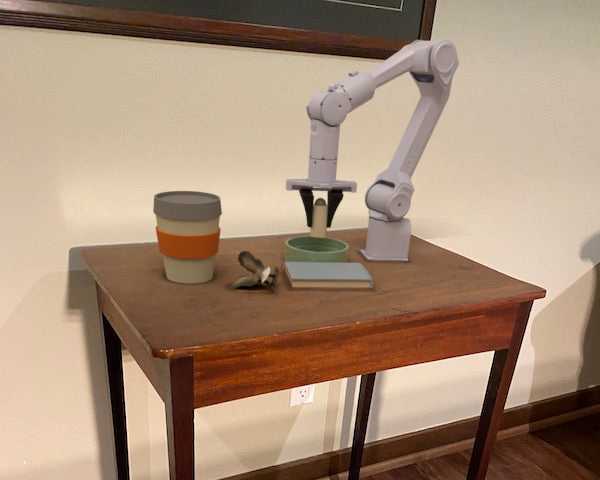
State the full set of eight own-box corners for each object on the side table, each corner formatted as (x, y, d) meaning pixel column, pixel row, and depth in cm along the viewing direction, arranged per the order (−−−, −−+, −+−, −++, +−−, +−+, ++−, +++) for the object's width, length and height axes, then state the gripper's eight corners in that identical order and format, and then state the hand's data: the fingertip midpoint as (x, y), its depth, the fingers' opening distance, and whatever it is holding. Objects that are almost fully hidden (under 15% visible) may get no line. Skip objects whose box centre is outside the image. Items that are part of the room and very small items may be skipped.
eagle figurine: (282, 277, 119) (238, 263, 120) (284, 253, 113) (238, 238, 113) (269, 307, 116) (224, 293, 116) (271, 284, 109) (223, 269, 110)
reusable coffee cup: (177, 263, 127) (174, 188, 120) (232, 272, 124) (233, 195, 117) (144, 280, 117) (138, 198, 109) (203, 290, 113) (202, 207, 106)
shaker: (324, 233, 133) (327, 196, 129) (327, 237, 130) (330, 199, 126) (308, 233, 132) (311, 196, 129) (311, 237, 129) (313, 199, 126)
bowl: (339, 254, 141) (341, 236, 139) (353, 272, 129) (355, 253, 127) (280, 253, 139) (281, 235, 137) (288, 271, 127) (289, 252, 125)
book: (359, 273, 129) (360, 262, 128) (372, 290, 119) (374, 279, 118) (283, 272, 126) (284, 261, 125) (291, 289, 117) (291, 278, 116)
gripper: (290, 159, 119) (287, 230, 126) (363, 162, 121) (356, 231, 128) (285, 154, 125) (282, 222, 132) (354, 157, 128) (348, 223, 134)
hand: (318, 226), depth 130 cm, fingers closed on shaker, 3 cm apart
